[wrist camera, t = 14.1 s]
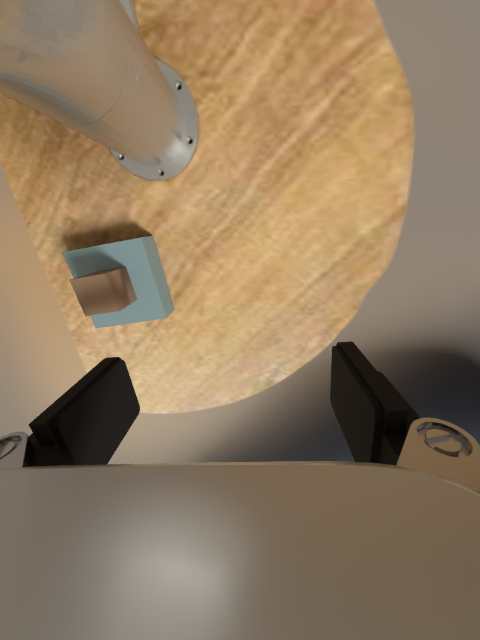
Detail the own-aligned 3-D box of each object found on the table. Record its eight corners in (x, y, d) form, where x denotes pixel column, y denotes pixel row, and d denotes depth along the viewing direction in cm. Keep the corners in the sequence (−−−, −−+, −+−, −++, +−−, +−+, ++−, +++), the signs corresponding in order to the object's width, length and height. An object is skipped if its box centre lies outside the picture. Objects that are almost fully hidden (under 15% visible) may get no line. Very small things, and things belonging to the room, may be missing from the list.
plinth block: (81, 249, 37) (62, 252, 34) (152, 235, 36) (141, 237, 32) (109, 318, 42) (95, 328, 38) (174, 309, 40) (166, 318, 37)
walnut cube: (94, 272, 34) (69, 279, 30) (126, 266, 34) (105, 273, 29) (107, 304, 36) (85, 316, 32) (137, 299, 36) (119, 311, 31)
